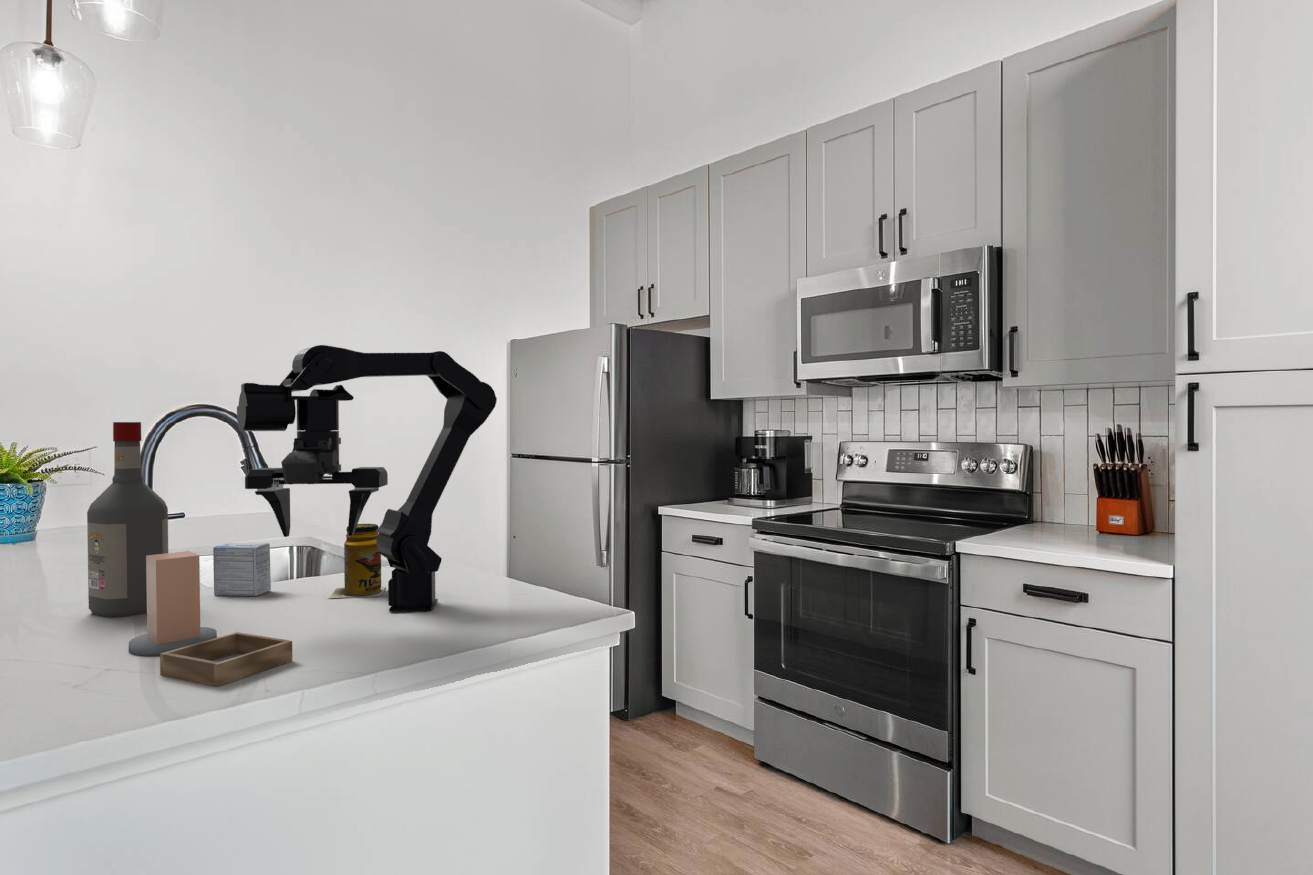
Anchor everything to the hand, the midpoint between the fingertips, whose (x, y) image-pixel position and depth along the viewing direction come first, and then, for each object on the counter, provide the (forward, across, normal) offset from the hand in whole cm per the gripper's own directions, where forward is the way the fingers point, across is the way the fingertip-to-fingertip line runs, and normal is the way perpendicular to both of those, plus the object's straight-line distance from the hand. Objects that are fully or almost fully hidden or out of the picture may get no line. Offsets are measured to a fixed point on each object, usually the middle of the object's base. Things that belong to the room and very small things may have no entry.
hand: (319, 535), depth 112 cm
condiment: (+13, 0, +20) cm, 24 cm away
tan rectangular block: (+12, -16, -9) cm, 22 cm away
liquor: (+13, -33, +12) cm, 38 cm away
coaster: (+13, -16, -9) cm, 22 cm away
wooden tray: (+13, -4, -20) cm, 24 cm away
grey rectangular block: (+13, -20, +22) cm, 33 cm away
